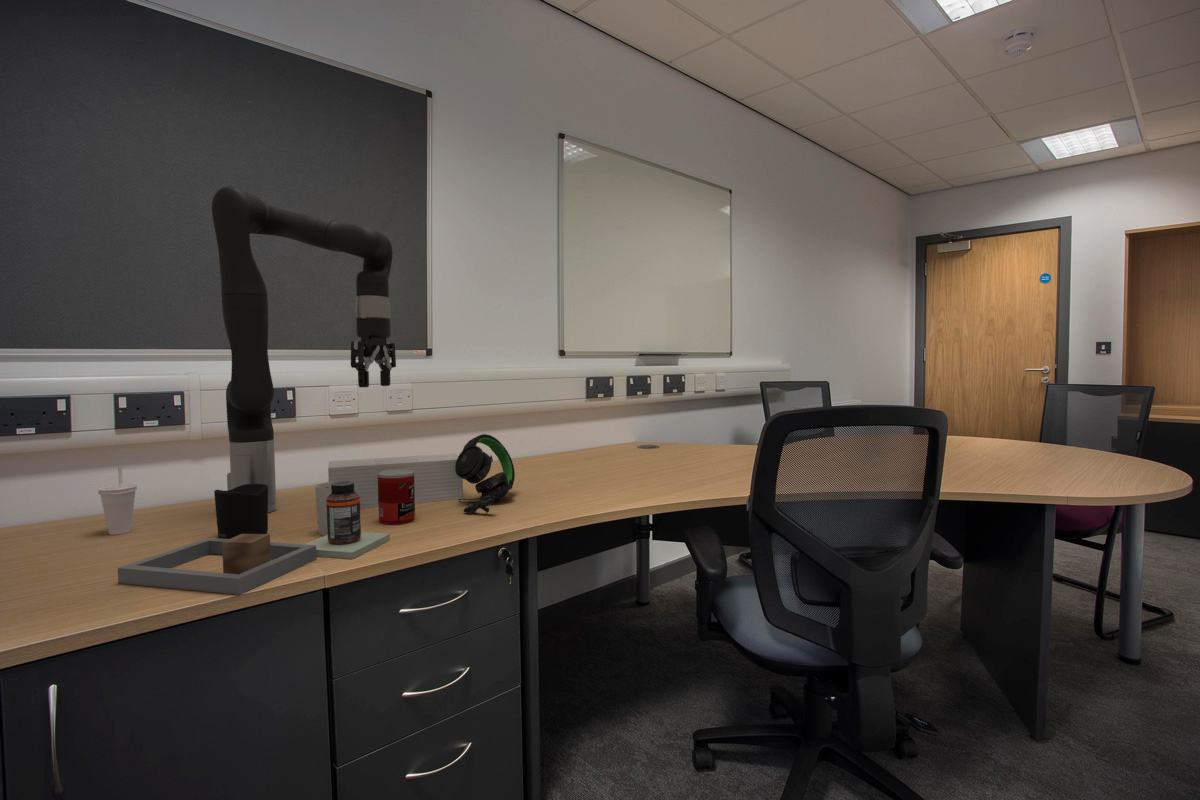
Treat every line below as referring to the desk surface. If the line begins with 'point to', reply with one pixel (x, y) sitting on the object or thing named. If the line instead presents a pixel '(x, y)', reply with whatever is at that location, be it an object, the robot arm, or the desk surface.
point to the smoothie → (118, 505)
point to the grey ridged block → (430, 471)
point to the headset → (485, 471)
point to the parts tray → (161, 574)
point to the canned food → (396, 496)
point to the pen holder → (242, 510)
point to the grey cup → (322, 505)
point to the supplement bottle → (343, 513)
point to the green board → (349, 545)
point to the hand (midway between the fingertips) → (374, 386)
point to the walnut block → (245, 552)
